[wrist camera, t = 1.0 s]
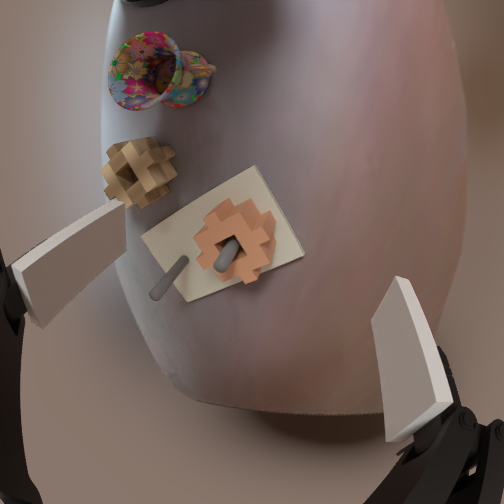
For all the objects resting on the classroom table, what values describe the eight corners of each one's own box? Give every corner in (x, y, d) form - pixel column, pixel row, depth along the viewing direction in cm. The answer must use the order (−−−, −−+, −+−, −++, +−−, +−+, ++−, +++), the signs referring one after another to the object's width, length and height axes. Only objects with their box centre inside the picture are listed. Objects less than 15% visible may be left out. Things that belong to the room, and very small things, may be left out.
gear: (115, 160, 38) (91, 168, 33) (156, 123, 34) (132, 125, 29) (145, 209, 41) (124, 223, 36) (190, 177, 37) (170, 188, 32)
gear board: (143, 233, 43) (103, 265, 33) (255, 164, 34) (231, 182, 25) (190, 298, 47) (162, 341, 37) (304, 251, 39) (300, 298, 29)
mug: (152, 111, 33) (105, 113, 24) (158, 52, 29) (112, 39, 20) (232, 111, 32) (200, 108, 22) (238, 47, 27) (210, 22, 18)
